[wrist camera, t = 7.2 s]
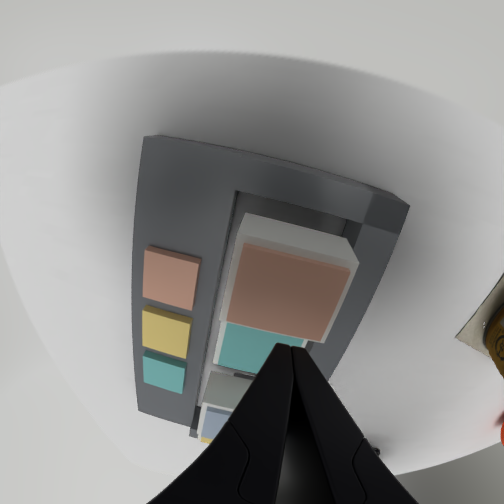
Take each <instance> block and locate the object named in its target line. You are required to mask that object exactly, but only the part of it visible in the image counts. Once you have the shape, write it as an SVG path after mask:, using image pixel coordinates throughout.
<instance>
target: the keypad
mask: <svg viewBox="0 0 504 504" xmlns="http://www.w3.org/2000/svg"><path fill="white" fill-rule="evenodd" d="M238 191H241V192H245V193H250V194H254V195H258V196H262V197H266V198H270V199H274V200H278V201H282V202H286V203H290V204H294V205H298V206H302V207H305V208H309V209H313V210H316V211H320V212H324V213H327V214H331V215H335V216H338V217H342V218H345V219H348V220H347V223H346V225H345V228H344V231H343V234H342V237H343V238H347V240H348V242H349V244H350V246H351V248H352V250H353V252H354V254H355V255H356V257H357V259H358V261H359V265H358V268H357V270H356V273H355V275H354V278H353V280H352V282H351V285H350V287H349V290H348V292H347V294H346V297H345V299H344V301H343V303H342V306H341V308H340V310H339V312H338V315H337V317H336V319H335V321H334V323H333V325H332V327H331V330H330V332H329V334H328V336H327V338H326V340H325V342H324V343H319V342H314V341H309V340H308V341H307V344H306V346H305V349H306V350H307V351H308V353H309V354H310V356H311V357H312V359H313V360H314V362H315V363H316V365H317V366H318V368H319V369H320V371H321V372H322V374H323V375H324V377H325V378H326V380H327V381H328V380H329V378H330V377H331V375H332V373H333V372H334V370H335V368H336V367H337V365H338V363H339V361H340V359H341V358H342V356H343V354H344V352H345V351H346V349H347V347H348V345H349V343H350V341H351V339H352V338H353V336H354V334H355V332H356V330H357V328H358V326H359V324H360V322H361V320H362V318H363V316H364V314H365V312H366V310H367V308H368V306H369V304H370V302H371V300H372V298H373V295H374V293H375V291H376V289H377V287H378V285H379V282H380V280H381V278H382V276H383V273H384V271H385V269H386V266H387V264H388V262H389V259H390V257H391V255H392V252H393V250H394V247H395V245H396V242H397V240H398V237H399V235H400V232H401V229H402V227H403V224H404V221H405V219H406V216H407V213H408V210H409V207H410V205H408V204H407V203H406V202H404V201H403V200H401V199H400V198H398V197H397V196H395V195H394V194H393V193H390V192H387V191H384V190H381V189H378V188H375V187H372V186H369V185H366V184H363V183H360V182H357V181H354V180H351V179H348V178H344V177H341V176H338V175H335V174H331V173H328V172H324V171H321V170H317V169H314V168H310V167H307V166H303V165H299V164H295V163H292V162H288V161H284V160H280V159H276V158H272V157H268V156H263V155H259V154H255V153H250V152H246V151H241V150H237V149H232V148H227V147H222V146H217V145H212V144H207V143H201V142H196V141H190V140H184V139H178V138H172V137H165V136H159V135H152V136H145V137H144V139H143V146H142V153H141V160H140V168H139V176H138V185H137V195H136V205H135V218H134V232H133V251H132V338H133V357H134V371H135V383H136V393H137V403H138V411H141V412H143V413H146V414H149V415H152V416H155V417H158V418H161V419H165V420H168V421H171V422H174V423H178V424H181V425H185V426H189V427H191V428H190V434H189V436H191V437H194V438H198V434H197V429H198V423H199V418H200V413H201V407H198V406H197V401H198V395H199V389H200V384H201V378H202V372H203V366H204V361H205V355H206V349H207V344H208V338H209V333H210V328H211V322H212V317H213V311H214V306H215V301H216V296H217V291H218V285H219V280H220V275H221V270H222V265H223V260H224V255H225V250H226V245H227V241H228V236H229V231H230V226H231V221H232V217H233V212H234V207H235V203H236V198H237V193H238Z"/></svg>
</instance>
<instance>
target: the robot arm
mask: <svg viewBox="0 0 504 504" xmlns="http://www.w3.org/2000/svg"><path fill="white" fill-rule="evenodd" d="M379 454H380V450H374V449H373V448H372V447H371V445H370V444H369V442H368V441H367V439H366V438H364V435H363V433H362V432H361V430H360V429H359V428H358V426H357V425H356V423H355V422H354V420H353V419H352V417H351V416H350V414H349V413H348V411H347V410H346V408H345V407H344V405H343V404H342V402H341V401H340V399H339V398H338V396H337V395H336V393H335V392H334V390H333V389H332V387H331V386H330V384H329V383H328V381H327V380H326V378H325V377H324V375H323V374H322V372H321V371H320V369H319V368H318V366H317V365H316V363H315V362H314V360H313V359H312V357H311V356H310V354H309V353H308V351H307V350H306V349H305V348H303V347H298V346H291V347H290V345H288V344H283V343H279V342H277V343H276V344H275V345H274V347H273V349H272V350H271V352H270V354H269V355H268V357H267V358H266V360H265V362H264V363H263V365H262V367H261V368H260V370H259V372H258V373H257V375H256V376H255V378H254V380H253V381H252V383H251V384H250V386H249V387H248V389H247V391H246V392H245V394H244V395H243V397H242V398H241V400H240V401H239V403H238V405H237V406H236V408H235V409H234V411H233V412H232V414H231V415H230V417H229V418H228V420H227V421H226V422H225V424H224V425H223V427H222V428H221V430H220V431H219V433H218V434H217V435H216V437H215V438H214V439H213V440H212V442H211V443H210V444H209V446H208V447H207V448H206V449H205V450H204V451H203V452H202V453H201V454H200V456H199V457H198V458H197V459H196V460H195V461H194V462H193V463H192V464H191V465H190V466H189V467H188V468H187V469H186V470H184V471H183V472H182V473H181V474H180V475H179V476H178V477H177V478H176V479H175V480H174V481H173V482H172V483H171V484H169V485H168V486H167V487H166V488H165V489H164V490H163V491H162V492H160V493H159V494H158V495H157V496H156V497H154V498H153V499H152V500H151V501H149V502H148V503H147V504H419V503H418V502H417V501H416V500H415V499H414V498H413V497H412V496H411V494H409V492H408V491H407V490H406V489H405V488H404V487H403V486H402V484H401V483H400V482H399V481H398V480H397V479H396V478H395V476H394V475H393V474H392V473H391V472H390V470H389V469H388V468H387V467H386V466H385V464H384V463H383V462H382V460H381V459H380V458H379V456H378V455H379Z"/></svg>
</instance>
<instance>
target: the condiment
mask: <svg viewBox="0 0 504 504" xmlns="http://www.w3.org/2000/svg"><path fill="white" fill-rule="evenodd" d="M484 322H485V325H483V323H484ZM484 326H485V328H484V329H483V327H484ZM456 338H457V339H459V340H460V341H462V342H464V343H466V344H467V345H469V346H471V347H472V348H474V349H476V350H478V351H480V352H482V353H483V354H485V355H487V356H488V357H490V358H492V360H493V361H494V363H495V365H496V367H497V369H498V370H499V372H500V374H501V375H502V376H503V378H504V276H503V278H502V279H501V280H500V282H499V283H498V284H497V286H496V287H495V288H494V289H493V291H492V292H491V293H490V295H489V296H488V298H487V299H486V300H485V302H484V303H483V304H482V305H481V306H480V307H479V309H478V311H477V312H476V314H475V315H474V316H473V318H472V319H471V320H470V321H469V322H468V323H467V324H466V326H465V327H464V329H463V330H462V331H461V332H460V333H459V334H458V336H457V337H456Z"/></svg>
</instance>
